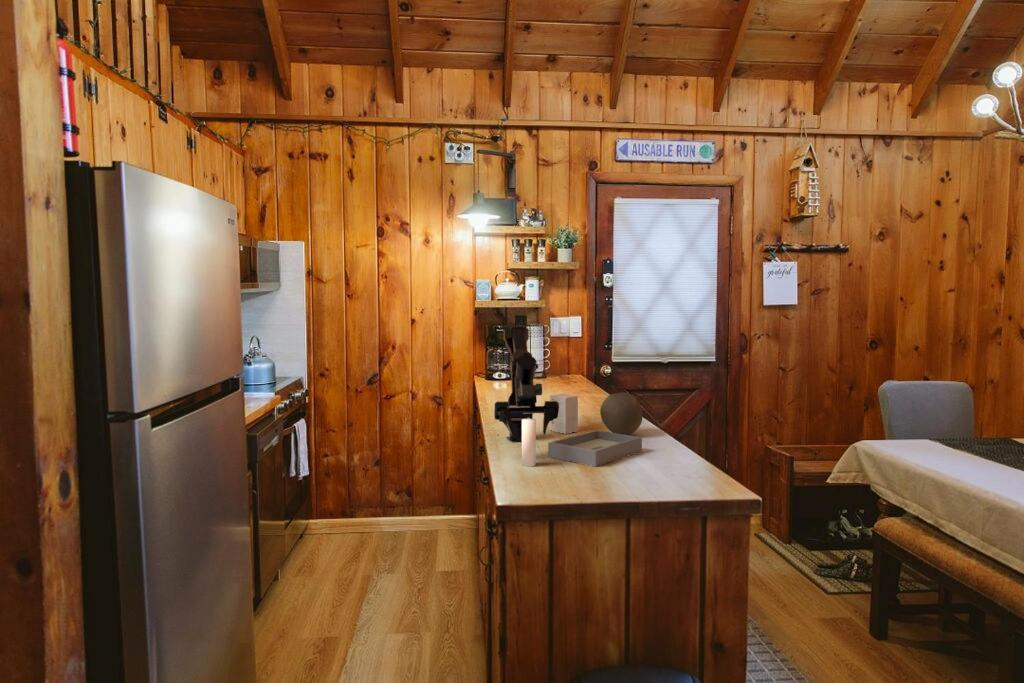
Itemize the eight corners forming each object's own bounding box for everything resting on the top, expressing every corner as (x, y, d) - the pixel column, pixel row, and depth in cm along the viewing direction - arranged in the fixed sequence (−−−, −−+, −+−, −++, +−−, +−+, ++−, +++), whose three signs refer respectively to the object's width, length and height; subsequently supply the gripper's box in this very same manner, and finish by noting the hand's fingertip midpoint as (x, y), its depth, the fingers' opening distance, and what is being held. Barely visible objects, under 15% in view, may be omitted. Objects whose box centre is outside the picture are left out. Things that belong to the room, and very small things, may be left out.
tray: (548, 457, 195) (548, 442, 195) (596, 443, 214) (596, 430, 214) (595, 466, 184) (595, 451, 184) (641, 451, 203) (641, 437, 202)
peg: (519, 464, 188) (519, 419, 187) (532, 462, 189) (532, 418, 188) (524, 467, 184) (524, 421, 183) (537, 466, 185) (537, 420, 184)
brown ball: (609, 430, 236) (610, 389, 235) (647, 434, 229) (648, 391, 228) (594, 437, 224) (594, 393, 223) (633, 441, 217) (633, 396, 216)
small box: (578, 432, 233) (578, 395, 232) (565, 434, 229) (565, 397, 228) (562, 428, 239) (562, 393, 238) (549, 431, 235) (549, 395, 234)
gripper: (494, 374, 190) (496, 418, 180) (558, 373, 192) (563, 417, 181) (493, 397, 199) (495, 440, 188) (554, 396, 200) (559, 439, 190)
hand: (528, 434), depth 187 cm, fingers open, 9 cm apart
